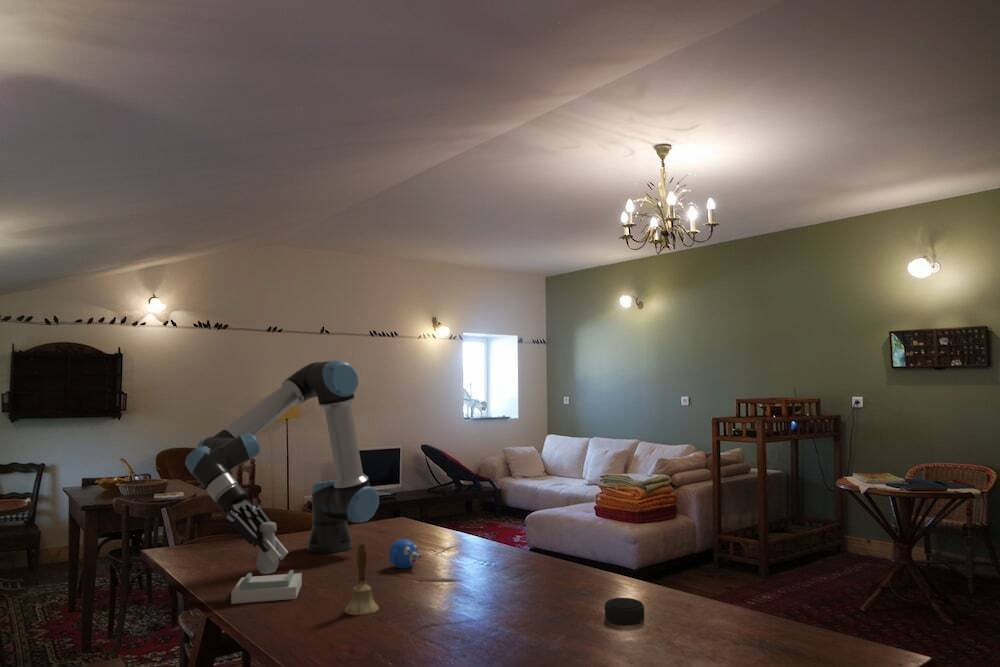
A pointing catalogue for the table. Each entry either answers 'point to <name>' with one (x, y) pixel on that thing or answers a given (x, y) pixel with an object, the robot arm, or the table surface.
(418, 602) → the table surface
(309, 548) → the robot arm
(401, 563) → the blue rounded piece
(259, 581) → the dock
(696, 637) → the table surface
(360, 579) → the hand bell
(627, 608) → the smart speaker
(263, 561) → the salt shaker
